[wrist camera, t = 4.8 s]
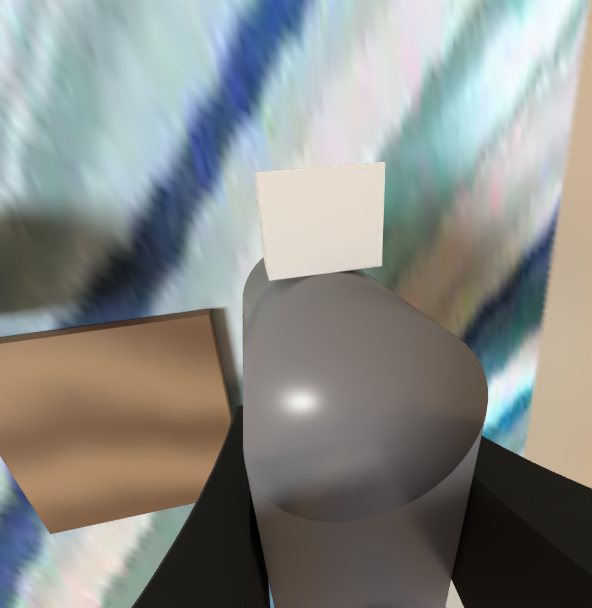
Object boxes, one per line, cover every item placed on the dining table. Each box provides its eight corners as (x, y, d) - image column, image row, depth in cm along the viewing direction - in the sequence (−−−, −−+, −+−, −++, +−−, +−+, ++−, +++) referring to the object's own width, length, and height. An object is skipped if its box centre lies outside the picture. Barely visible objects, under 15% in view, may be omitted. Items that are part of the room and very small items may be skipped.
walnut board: (245, 480, 20) (246, 491, 20) (57, 520, 19) (50, 534, 18) (209, 308, 15) (208, 314, 15) (-50, 344, 14) (-67, 353, 13)
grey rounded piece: (357, 472, 14) (433, 661, 8) (272, 491, 13) (294, 704, 8) (357, 168, 9) (543, 141, 3) (222, 180, 8) (185, 168, 3)
